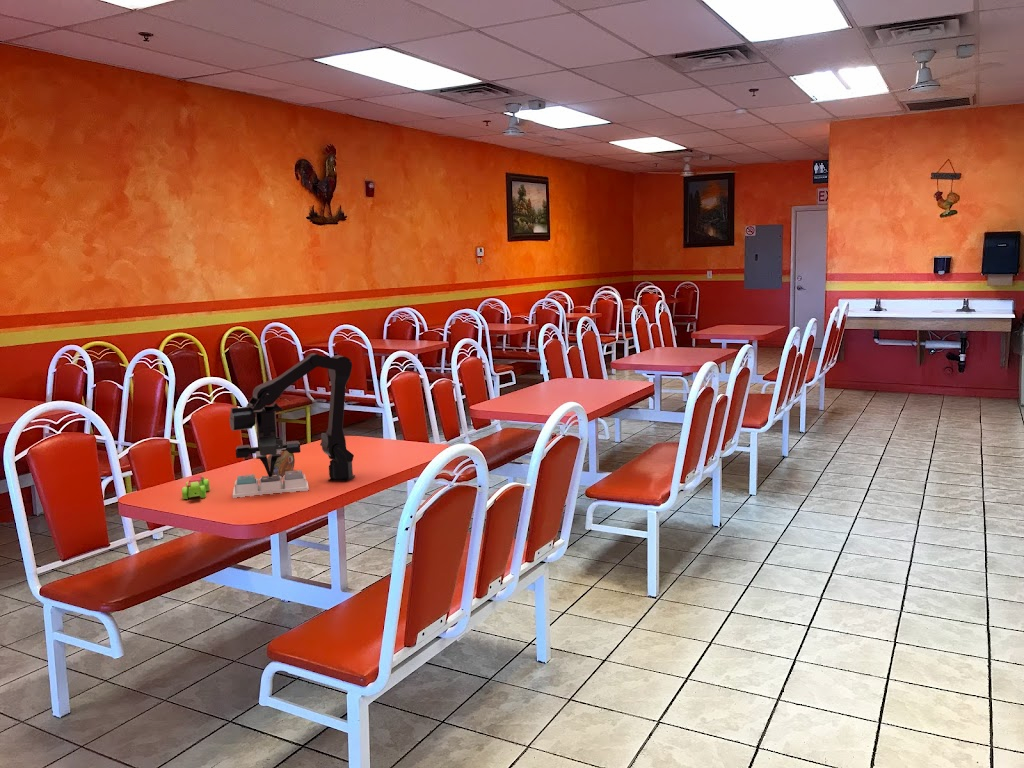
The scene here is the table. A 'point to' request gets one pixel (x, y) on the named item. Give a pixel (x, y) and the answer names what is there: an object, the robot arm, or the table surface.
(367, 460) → the table surface
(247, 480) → the key one dot
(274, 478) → the key three dots
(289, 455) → the brown flat rounded piece
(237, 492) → the keypad
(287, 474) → the key two dots
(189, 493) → the toy crocodile
